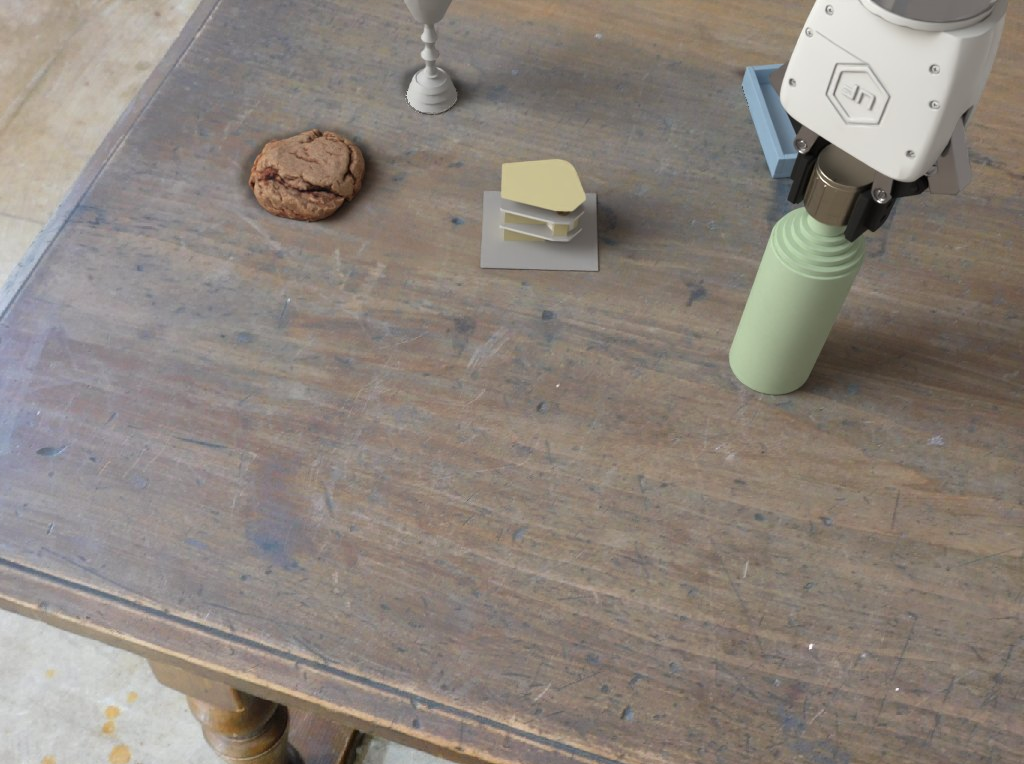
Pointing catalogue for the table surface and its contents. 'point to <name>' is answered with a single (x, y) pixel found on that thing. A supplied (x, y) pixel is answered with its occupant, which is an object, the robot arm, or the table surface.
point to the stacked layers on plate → (539, 219)
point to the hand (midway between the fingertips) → (833, 208)
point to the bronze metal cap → (836, 186)
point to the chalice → (430, 61)
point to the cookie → (307, 175)
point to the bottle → (794, 302)
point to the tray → (770, 120)
